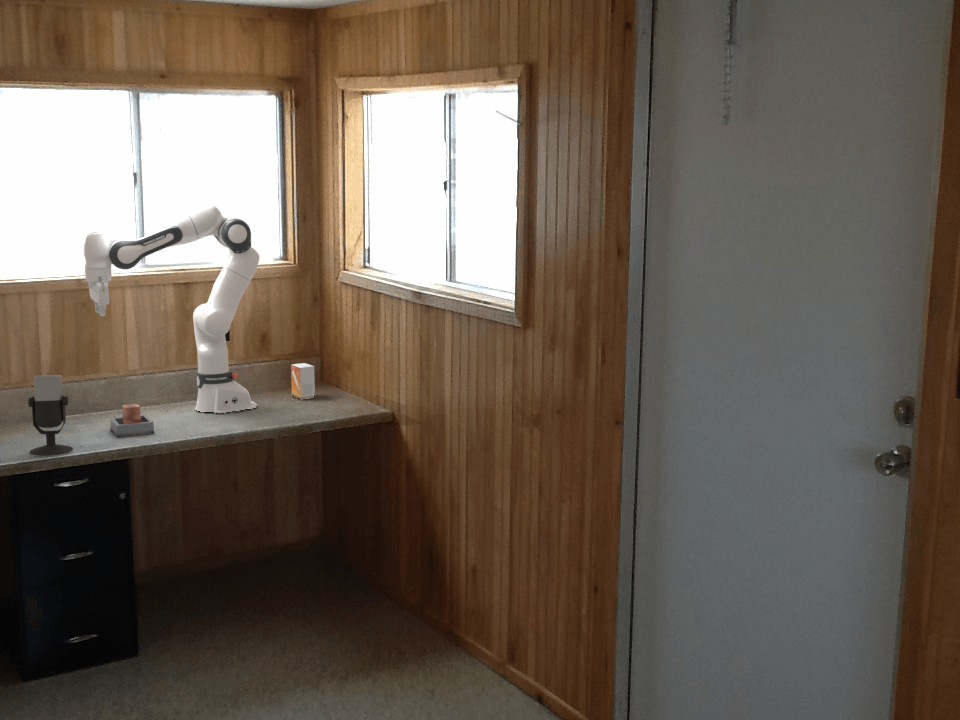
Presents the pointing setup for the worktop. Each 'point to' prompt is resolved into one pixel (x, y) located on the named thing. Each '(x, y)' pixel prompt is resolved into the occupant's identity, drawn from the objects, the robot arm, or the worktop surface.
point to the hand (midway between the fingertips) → (100, 314)
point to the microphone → (48, 413)
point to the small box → (302, 380)
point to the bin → (131, 427)
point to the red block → (131, 414)
